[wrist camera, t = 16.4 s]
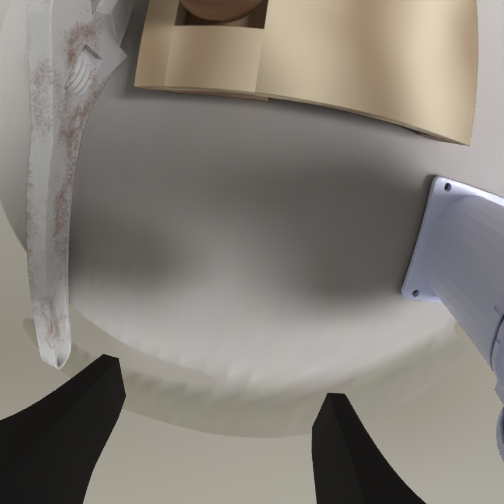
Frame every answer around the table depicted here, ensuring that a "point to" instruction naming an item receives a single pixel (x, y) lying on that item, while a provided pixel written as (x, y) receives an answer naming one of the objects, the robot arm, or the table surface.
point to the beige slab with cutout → (327, 58)
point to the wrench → (62, 142)
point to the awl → (220, 9)
